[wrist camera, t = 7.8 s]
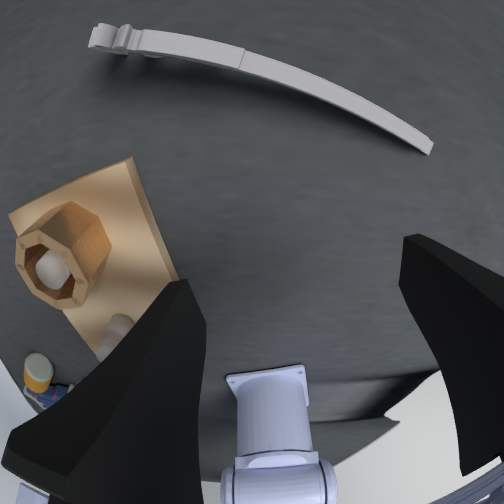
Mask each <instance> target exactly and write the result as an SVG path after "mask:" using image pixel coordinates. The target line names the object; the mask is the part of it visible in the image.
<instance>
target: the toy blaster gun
mask: <svg viewBox="0 0 504 504" xmlns="http://www.w3.org/2000/svg"><path fill="white" fill-rule="evenodd" d="M52 376H53V365H52V363H51V362H50V361H49V360H48V359H47V358H46V357H44V356H43V355H41V354H39V353H37V352H35V353H31V354H29V355H28V357H27V358H26V360H25V366H24V381H25V383H26V385H25V387H24V390H23V391H24V394H25V395H27V396H29V397H30V398H32V399H33V400H35V401H36V402H37V403H38V404H39V405H40V406H41V407H42V408H43V409H47V408H49V407H50V406H52V405H53V404H54V403H56V402H57V401H58V400H60V399H61V398H62V397H64V396H65V395H66V394H67V393H68V392H70V391H71V390H72V389H73V388H74V387H75V385H74V384H70V386H69V387H66V386H62V385H56V386H52V385H50V382H51V379H52ZM27 387H28V390H27ZM27 391H28V393H27ZM29 393H30V394H31V395H30V394H29ZM32 395H33V396H34V397H33V396H32Z"/></svg>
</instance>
